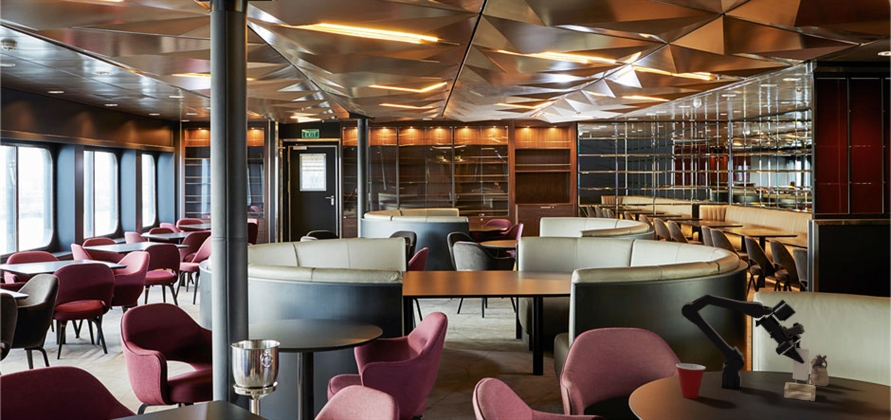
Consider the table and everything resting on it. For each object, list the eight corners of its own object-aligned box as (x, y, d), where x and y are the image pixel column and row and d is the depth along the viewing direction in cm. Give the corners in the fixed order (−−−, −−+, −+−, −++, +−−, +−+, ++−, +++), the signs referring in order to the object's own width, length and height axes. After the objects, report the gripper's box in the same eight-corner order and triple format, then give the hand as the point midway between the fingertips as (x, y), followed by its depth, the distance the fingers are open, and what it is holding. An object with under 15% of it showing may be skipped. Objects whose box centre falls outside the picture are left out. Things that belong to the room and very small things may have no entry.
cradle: (784, 397, 289) (784, 368, 289) (787, 383, 309) (788, 356, 308) (814, 401, 284) (815, 371, 284) (816, 386, 304) (817, 359, 304)
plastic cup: (706, 394, 292) (707, 363, 292) (703, 402, 282) (704, 369, 282) (677, 390, 297) (677, 360, 296) (673, 398, 287) (673, 366, 286)
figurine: (810, 380, 313) (811, 351, 313) (830, 383, 309) (830, 354, 308) (807, 384, 307) (808, 354, 307) (826, 387, 303) (827, 357, 303)
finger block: (792, 378, 290) (793, 350, 290) (795, 376, 294) (796, 347, 294) (805, 380, 288) (806, 351, 287) (807, 378, 291) (808, 349, 291)
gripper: (785, 320, 284) (817, 353, 279) (796, 312, 300) (826, 344, 294) (762, 338, 289) (793, 371, 284) (774, 330, 305) (803, 361, 299)
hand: (804, 361), depth 290 cm, fingers closed on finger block, 5 cm apart
